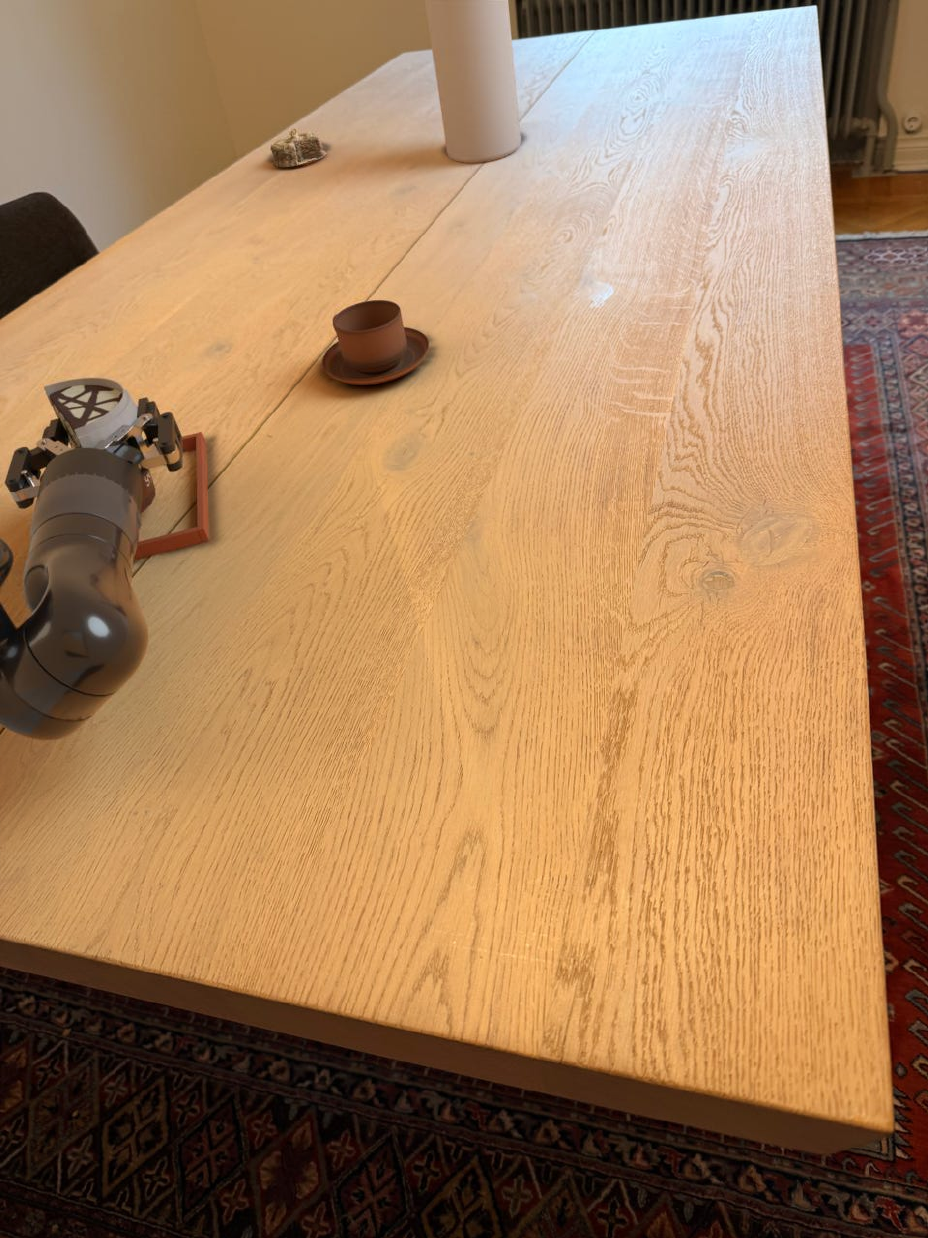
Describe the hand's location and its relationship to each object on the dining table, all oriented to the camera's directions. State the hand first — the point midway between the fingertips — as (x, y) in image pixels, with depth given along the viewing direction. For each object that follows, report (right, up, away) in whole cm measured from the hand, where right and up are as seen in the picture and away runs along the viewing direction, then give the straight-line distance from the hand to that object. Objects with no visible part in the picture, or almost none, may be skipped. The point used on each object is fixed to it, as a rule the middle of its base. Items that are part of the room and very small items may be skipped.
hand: (103, 417), depth 81 cm
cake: (+3, +65, +83) cm, 105 cm away
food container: (+2, -7, +3) cm, 8 cm away
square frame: (+2, -8, +5) cm, 10 cm away
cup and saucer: (+23, +10, +20) cm, 32 cm away
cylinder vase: (+36, +60, +71) cm, 100 cm away
